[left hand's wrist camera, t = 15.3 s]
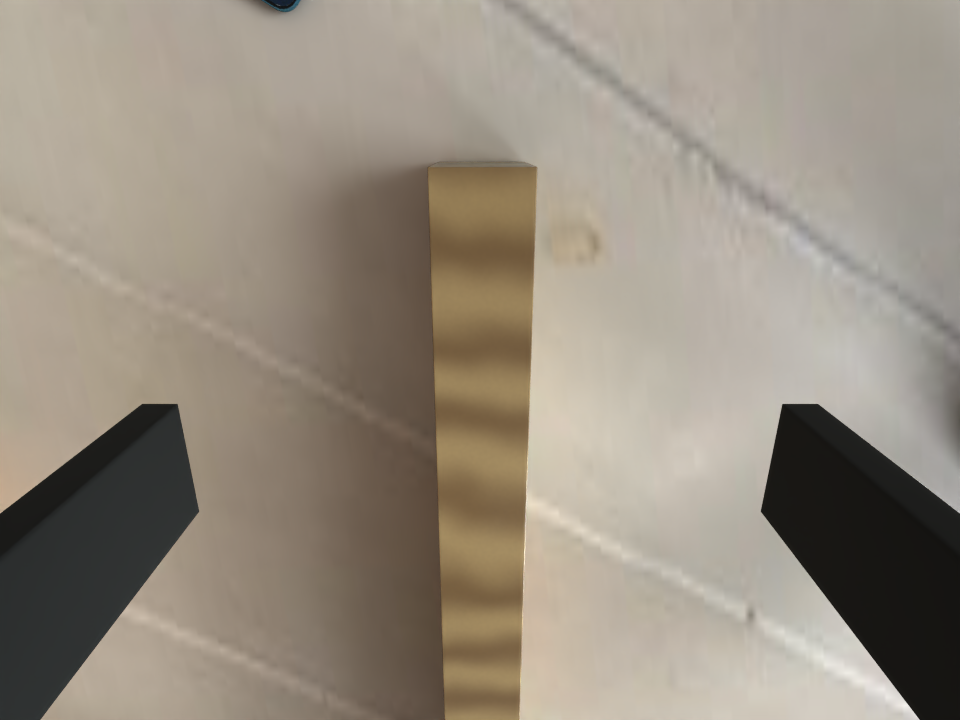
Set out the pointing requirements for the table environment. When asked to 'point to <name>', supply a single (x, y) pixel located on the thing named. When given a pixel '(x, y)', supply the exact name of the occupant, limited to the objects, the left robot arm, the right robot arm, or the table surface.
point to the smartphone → (283, 4)
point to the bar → (482, 423)
